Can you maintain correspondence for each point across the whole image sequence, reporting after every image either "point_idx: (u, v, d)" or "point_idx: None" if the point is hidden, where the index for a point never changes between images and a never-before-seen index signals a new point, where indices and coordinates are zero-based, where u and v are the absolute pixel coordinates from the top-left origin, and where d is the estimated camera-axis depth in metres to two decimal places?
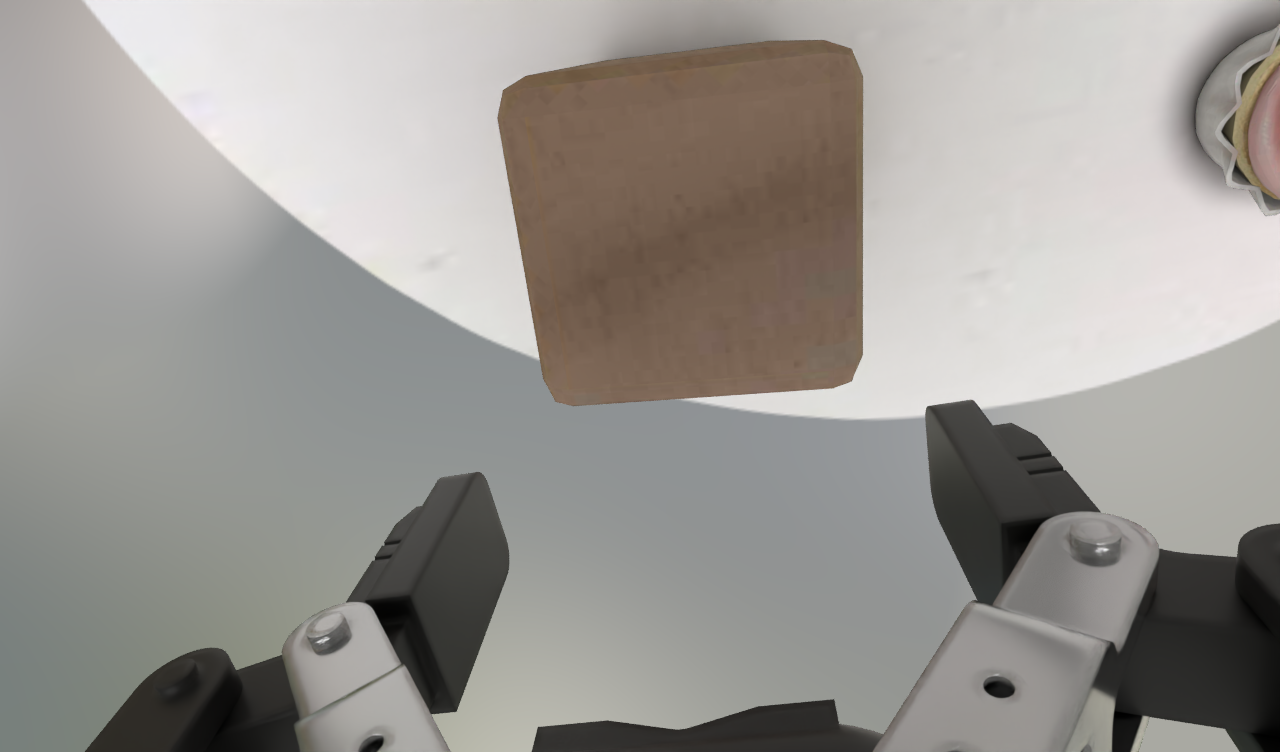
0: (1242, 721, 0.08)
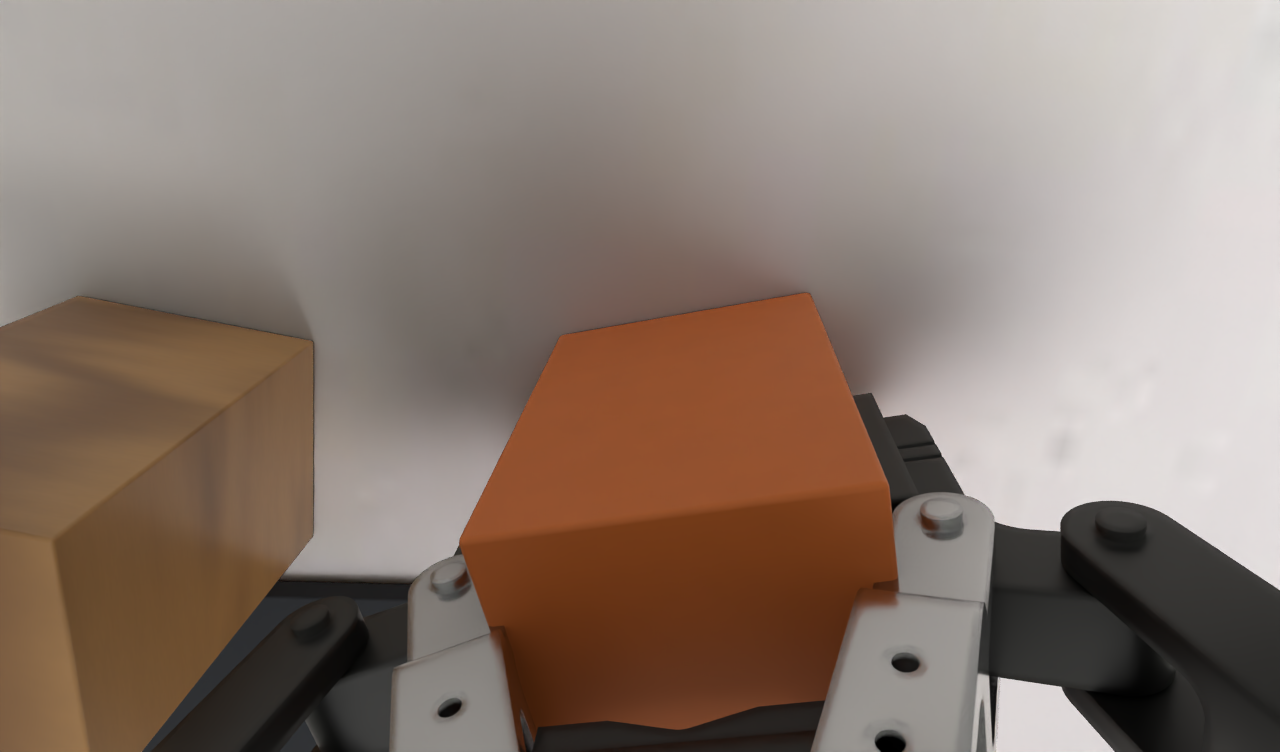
0: (1067, 679, 0.09)
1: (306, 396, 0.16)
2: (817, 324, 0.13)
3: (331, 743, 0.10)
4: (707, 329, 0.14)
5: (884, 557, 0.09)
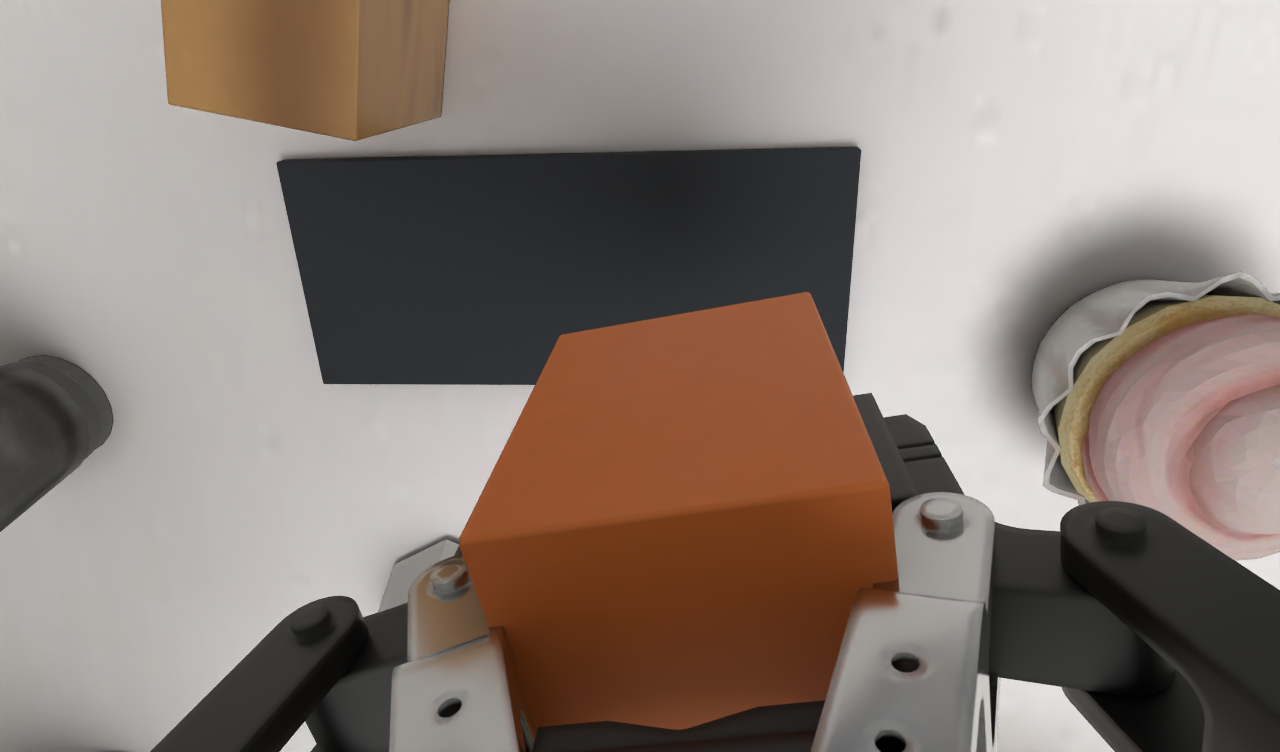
0: (1066, 678, 0.09)
1: None
2: (817, 323, 0.13)
3: (331, 743, 0.10)
4: (707, 328, 0.14)
5: (884, 556, 0.09)
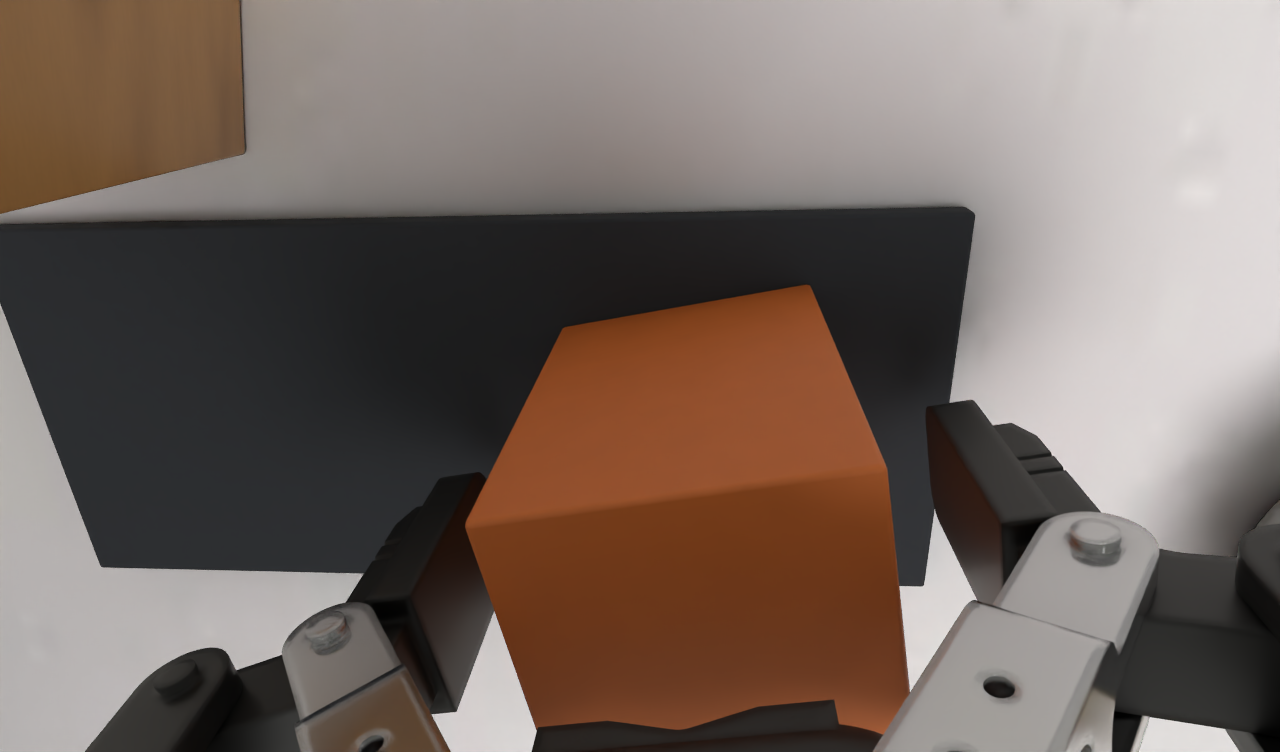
0: (1242, 721, 0.08)
1: None
2: (817, 315, 0.13)
3: None
4: (708, 320, 0.14)
5: (882, 539, 0.09)
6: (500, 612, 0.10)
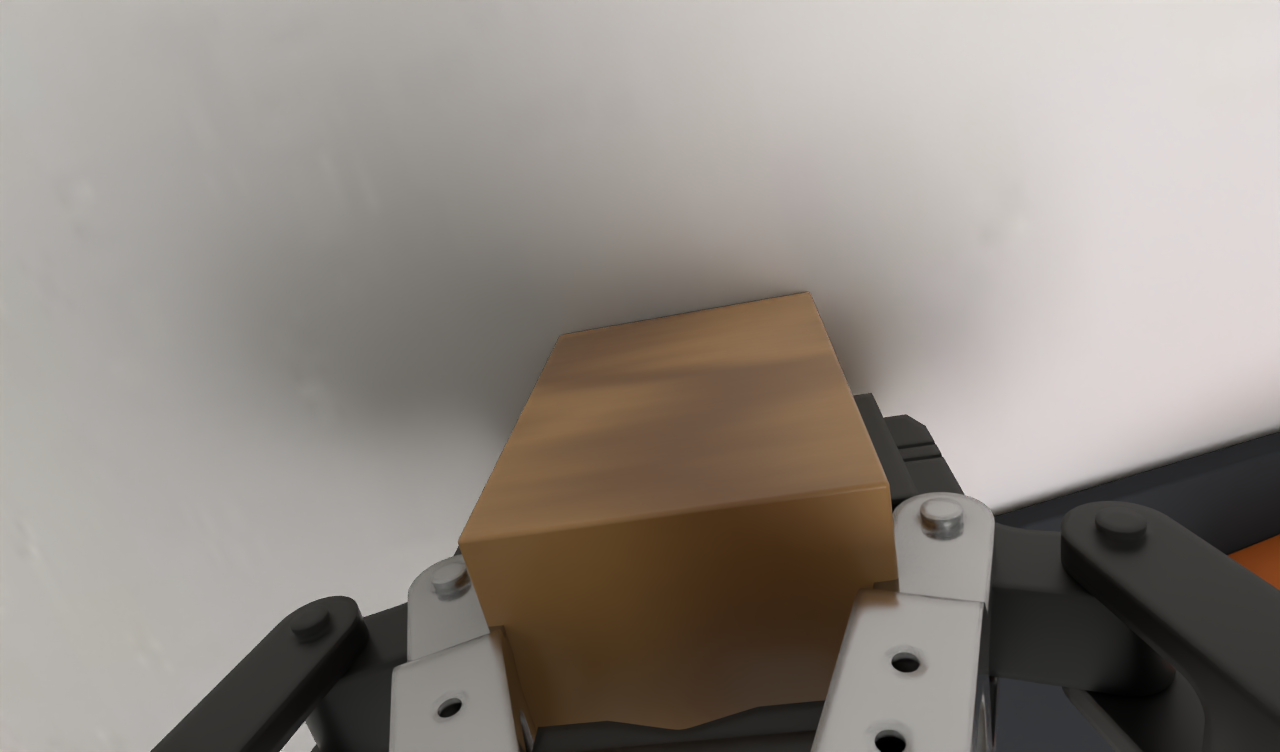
0: (1066, 678, 0.09)
1: None
2: None
3: (331, 743, 0.10)
4: None
5: None
6: None
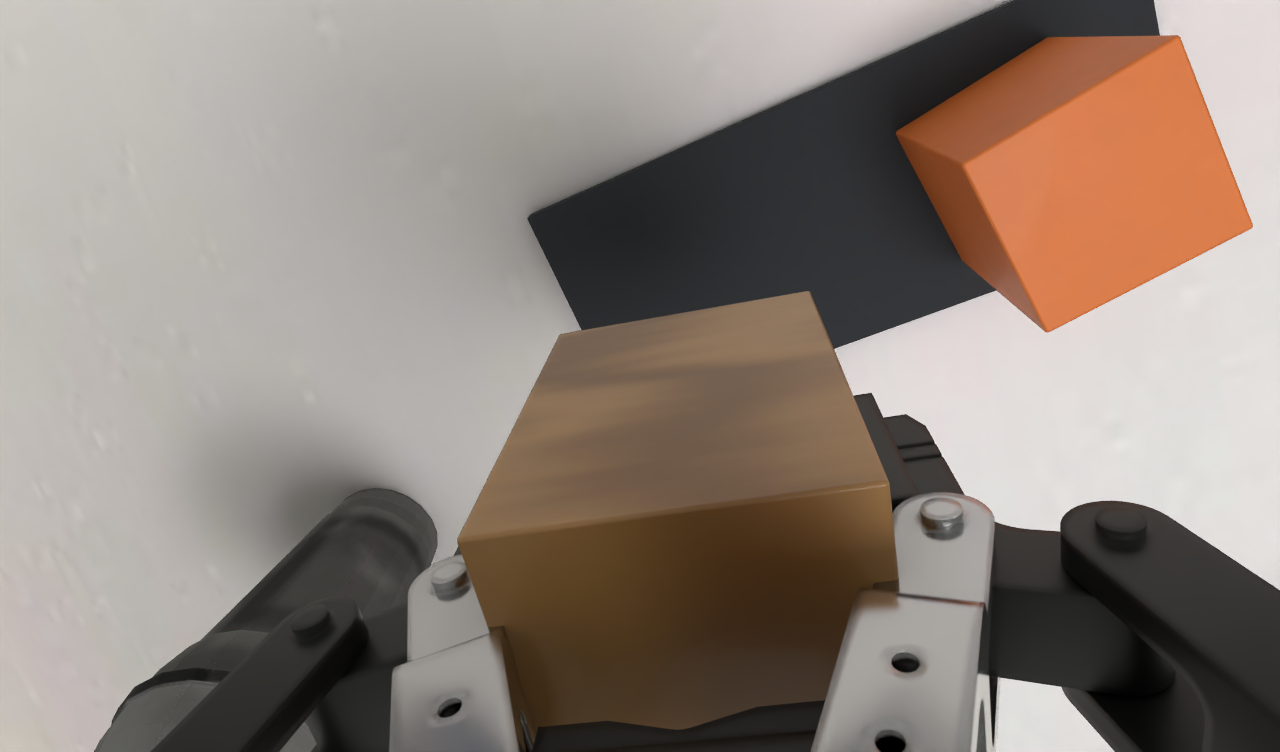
0: (1066, 678, 0.09)
1: None
2: (1072, 37, 0.21)
3: (331, 743, 0.10)
4: (998, 77, 0.22)
5: (1189, 77, 0.17)
6: (990, 210, 0.18)
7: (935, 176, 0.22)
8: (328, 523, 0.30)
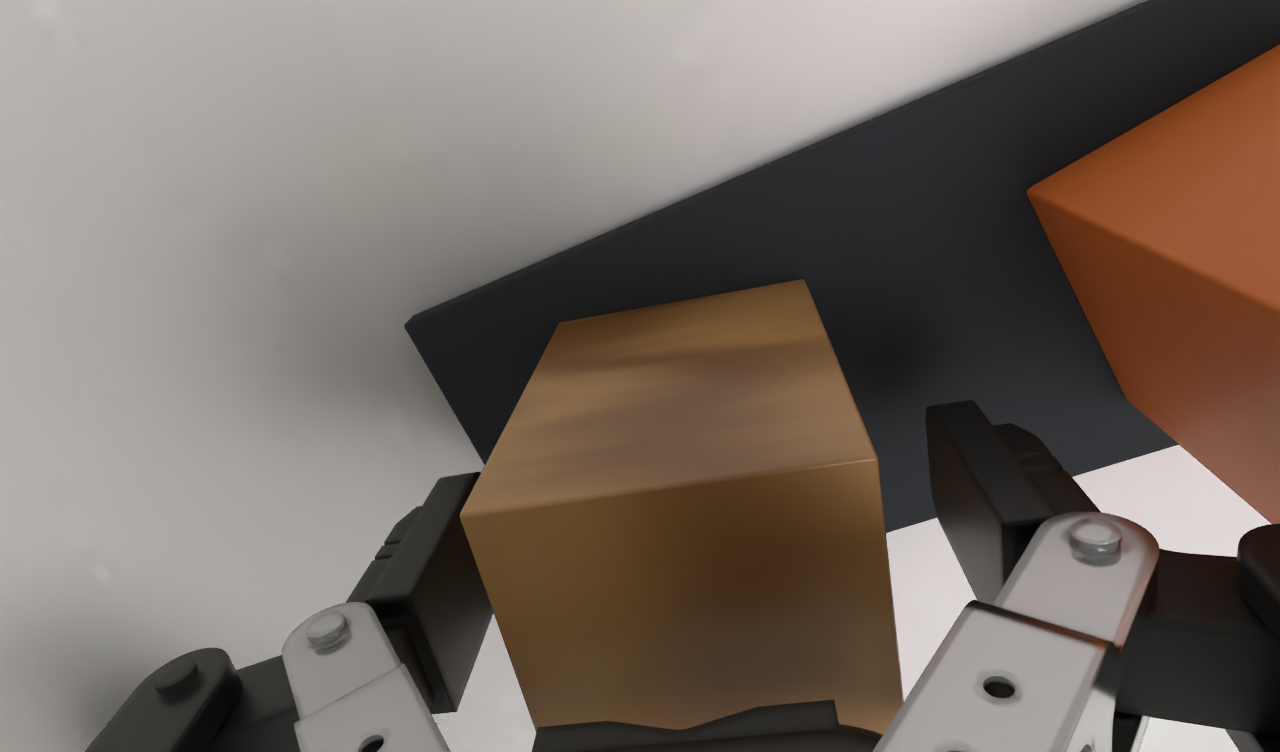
0: (1242, 722, 0.08)
1: None
2: None
3: None
4: (1238, 96, 0.12)
5: None
6: None
7: (1129, 286, 0.12)
8: None
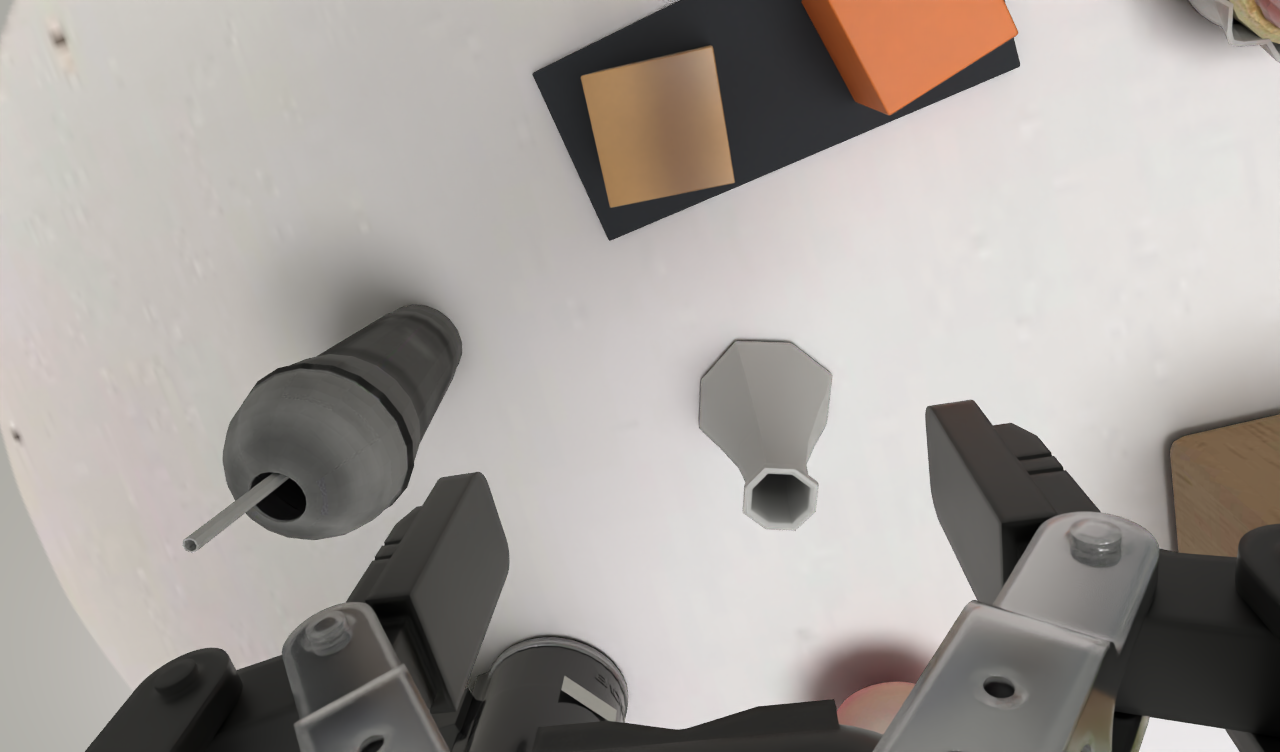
0: (1242, 721, 0.08)
1: None
2: None
3: None
4: None
5: None
6: (844, 24, 0.27)
7: (822, 22, 0.31)
8: (380, 319, 0.39)
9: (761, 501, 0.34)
